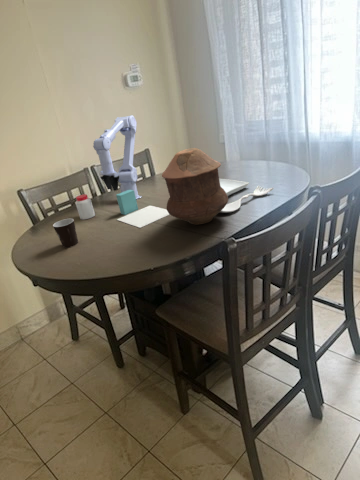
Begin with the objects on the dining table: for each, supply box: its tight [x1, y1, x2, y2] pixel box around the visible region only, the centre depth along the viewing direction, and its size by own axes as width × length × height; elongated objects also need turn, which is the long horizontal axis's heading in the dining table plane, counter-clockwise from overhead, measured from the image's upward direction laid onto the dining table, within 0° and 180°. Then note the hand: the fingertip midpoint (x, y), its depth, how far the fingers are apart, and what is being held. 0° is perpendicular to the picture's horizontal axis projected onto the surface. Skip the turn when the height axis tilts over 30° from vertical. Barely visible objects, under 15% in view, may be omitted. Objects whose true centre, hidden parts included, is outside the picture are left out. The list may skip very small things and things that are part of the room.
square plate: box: [219, 178, 250, 197], centre depth 177 cm, size 27×27×4 cm
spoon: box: [219, 185, 274, 214], centre depth 156 cm, size 9×32×4 cm, turn 129°
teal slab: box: [115, 190, 139, 216], centre depth 171 cm, size 4×8×10 cm, turn 130°
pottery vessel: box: [161, 147, 229, 225], centre depth 140 cm, size 26×26×30 cm
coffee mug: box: [52, 218, 79, 249], centre depth 144 cm, size 12×9×10 cm
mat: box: [116, 205, 171, 229], centre depth 163 cm, size 20×20×1 cm
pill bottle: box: [75, 193, 96, 220], centre depth 176 cm, size 8×8×11 cm
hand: (112, 189), depth 177 cm, fingers open, 6 cm apart
